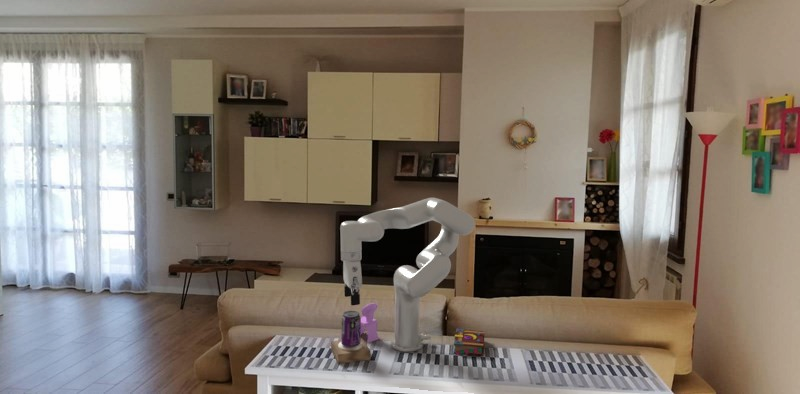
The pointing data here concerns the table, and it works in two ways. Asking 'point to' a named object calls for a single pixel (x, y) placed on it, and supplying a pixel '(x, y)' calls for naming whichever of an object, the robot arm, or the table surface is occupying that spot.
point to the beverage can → (351, 329)
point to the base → (350, 352)
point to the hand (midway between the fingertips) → (352, 300)
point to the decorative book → (469, 342)
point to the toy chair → (369, 322)
